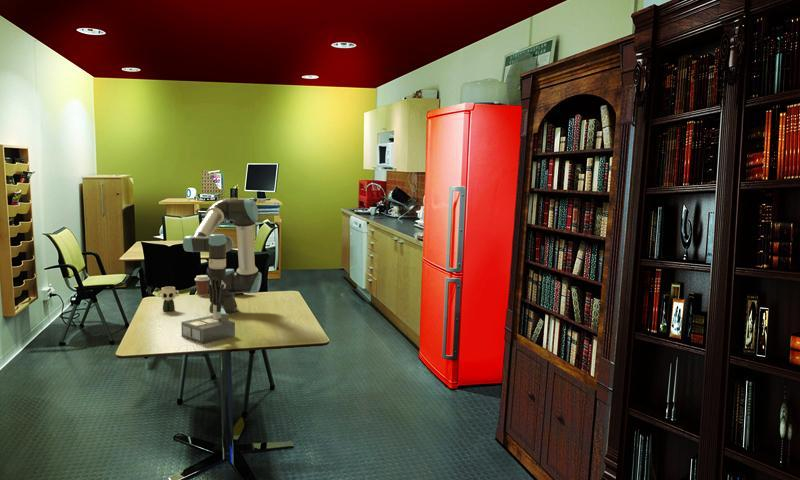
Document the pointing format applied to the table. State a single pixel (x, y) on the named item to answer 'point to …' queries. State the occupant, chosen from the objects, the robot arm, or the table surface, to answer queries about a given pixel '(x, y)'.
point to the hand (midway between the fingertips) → (216, 318)
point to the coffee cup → (202, 284)
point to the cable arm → (224, 315)
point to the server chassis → (207, 329)
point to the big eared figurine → (168, 297)
